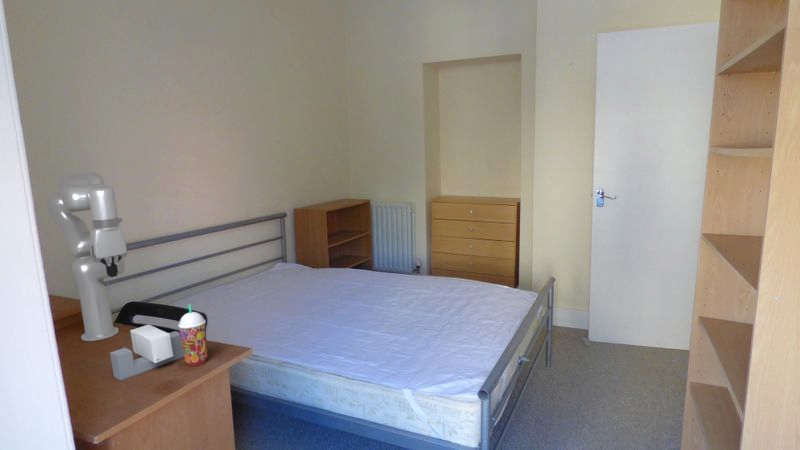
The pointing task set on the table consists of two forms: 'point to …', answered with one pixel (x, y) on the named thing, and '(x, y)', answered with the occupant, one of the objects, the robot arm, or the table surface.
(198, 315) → the smoothie
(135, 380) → the table surface
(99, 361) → the table surface
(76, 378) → the table surface
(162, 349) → the skincare box
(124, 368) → the u rest
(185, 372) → the table surface
